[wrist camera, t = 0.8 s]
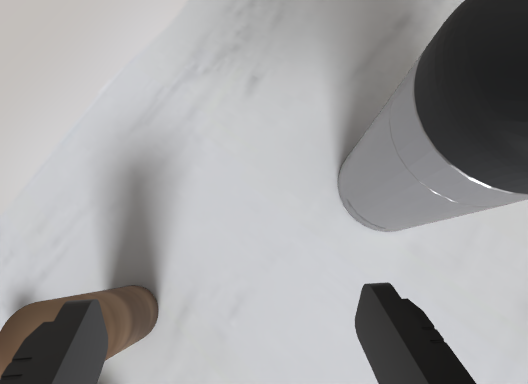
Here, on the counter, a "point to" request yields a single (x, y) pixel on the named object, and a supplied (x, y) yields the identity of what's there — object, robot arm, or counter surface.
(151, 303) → the walnut canister
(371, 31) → the counter surface
